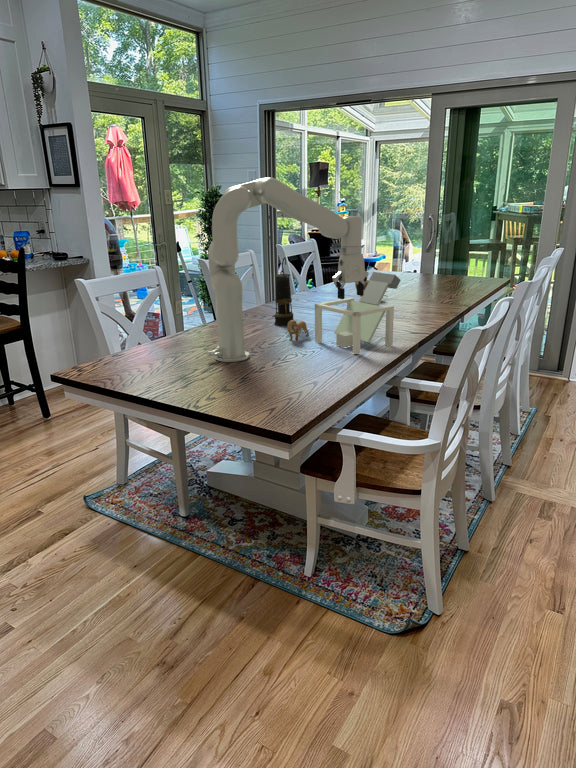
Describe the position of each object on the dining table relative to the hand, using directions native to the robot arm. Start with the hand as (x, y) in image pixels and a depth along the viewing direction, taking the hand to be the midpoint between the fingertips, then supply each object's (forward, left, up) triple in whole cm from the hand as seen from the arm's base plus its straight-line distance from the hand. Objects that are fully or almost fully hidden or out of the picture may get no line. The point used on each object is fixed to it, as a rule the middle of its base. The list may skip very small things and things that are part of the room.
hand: (350, 296), depth 205 cm
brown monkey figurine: (+67, +59, -19) cm, 91 cm away
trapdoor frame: (+2, 0, -19) cm, 19 cm away
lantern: (+2, +47, -19) cm, 51 cm away
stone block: (0, 0, -16) cm, 16 cm away
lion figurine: (-10, +21, -19) cm, 30 cm away
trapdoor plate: (+12, 0, -7) cm, 14 cm away
